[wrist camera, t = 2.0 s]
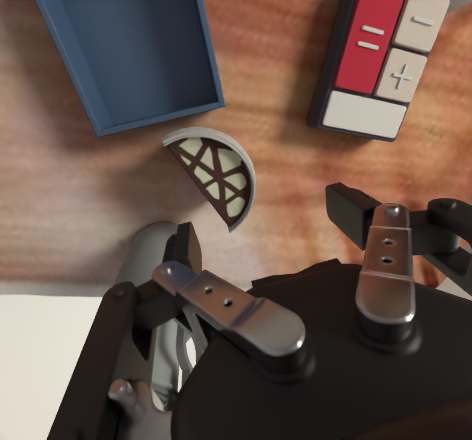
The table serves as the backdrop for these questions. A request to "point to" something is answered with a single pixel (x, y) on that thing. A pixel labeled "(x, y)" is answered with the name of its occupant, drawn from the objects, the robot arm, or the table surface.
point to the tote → (136, 59)
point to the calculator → (374, 65)
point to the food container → (216, 170)
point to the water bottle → (170, 333)
